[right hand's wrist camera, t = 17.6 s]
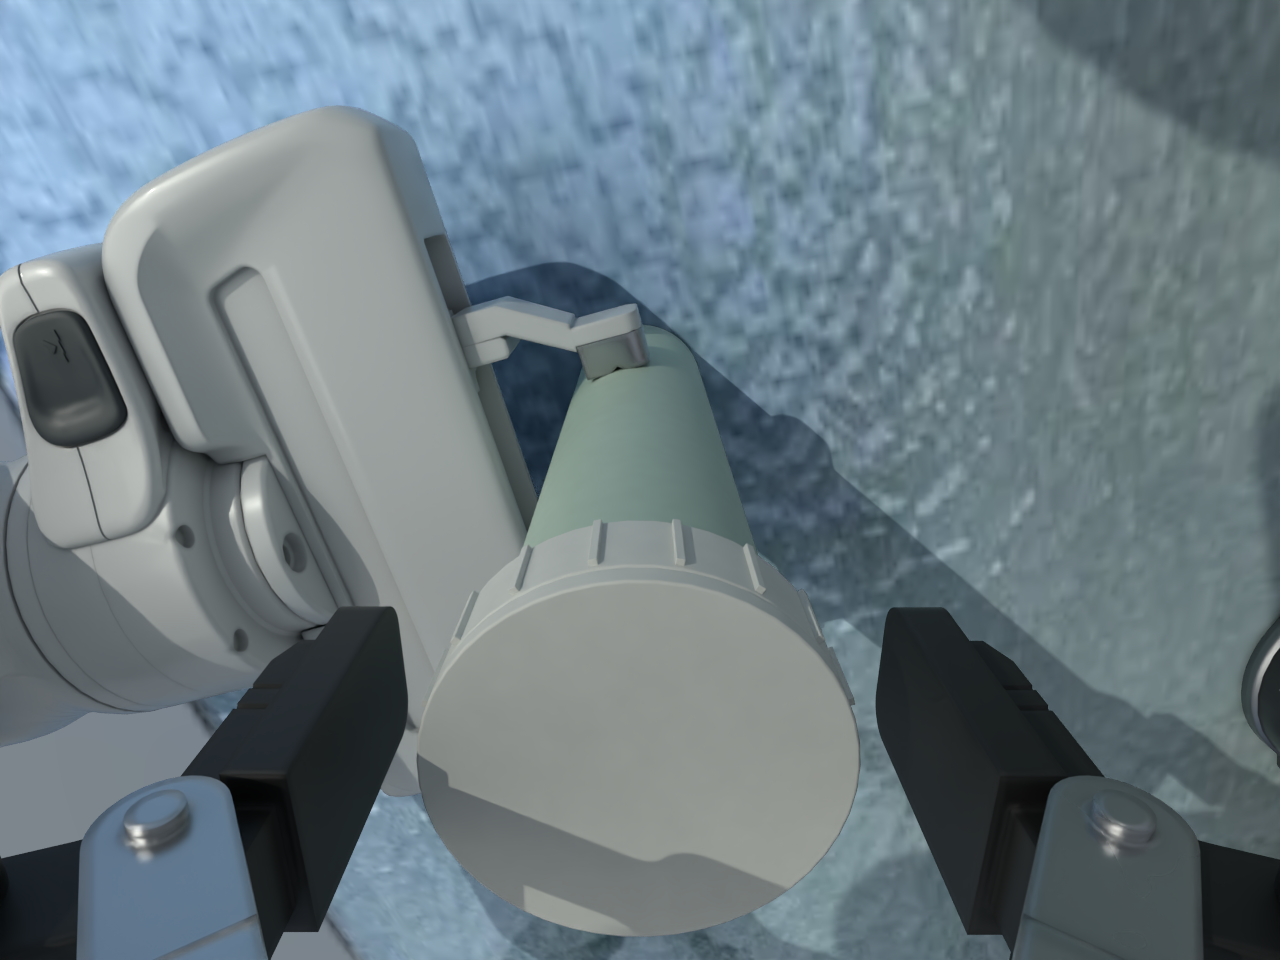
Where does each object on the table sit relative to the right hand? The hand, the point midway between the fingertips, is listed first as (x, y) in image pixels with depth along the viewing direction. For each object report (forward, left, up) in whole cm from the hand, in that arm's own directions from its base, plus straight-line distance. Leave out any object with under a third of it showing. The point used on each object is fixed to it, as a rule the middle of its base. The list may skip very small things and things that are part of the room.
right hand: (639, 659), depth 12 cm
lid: (0, 0, +2) cm, 2 cm away
